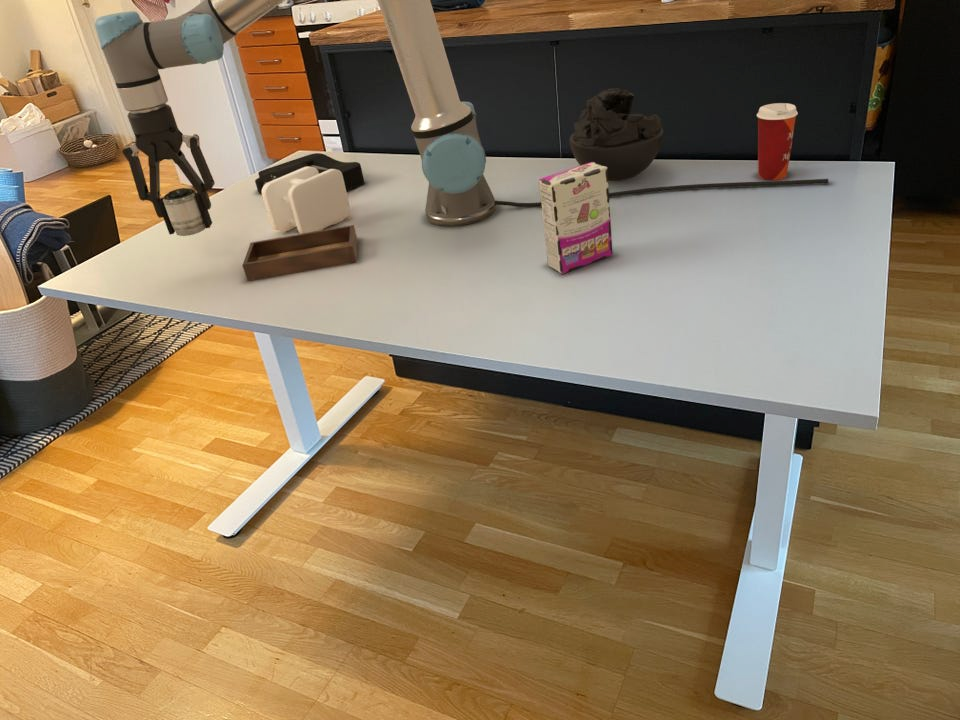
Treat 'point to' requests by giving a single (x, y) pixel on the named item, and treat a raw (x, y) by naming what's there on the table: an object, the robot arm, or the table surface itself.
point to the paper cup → (775, 139)
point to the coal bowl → (616, 135)
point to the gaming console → (318, 161)
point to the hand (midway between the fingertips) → (191, 228)
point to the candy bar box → (576, 217)
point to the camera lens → (184, 212)
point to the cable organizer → (306, 200)
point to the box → (301, 253)
